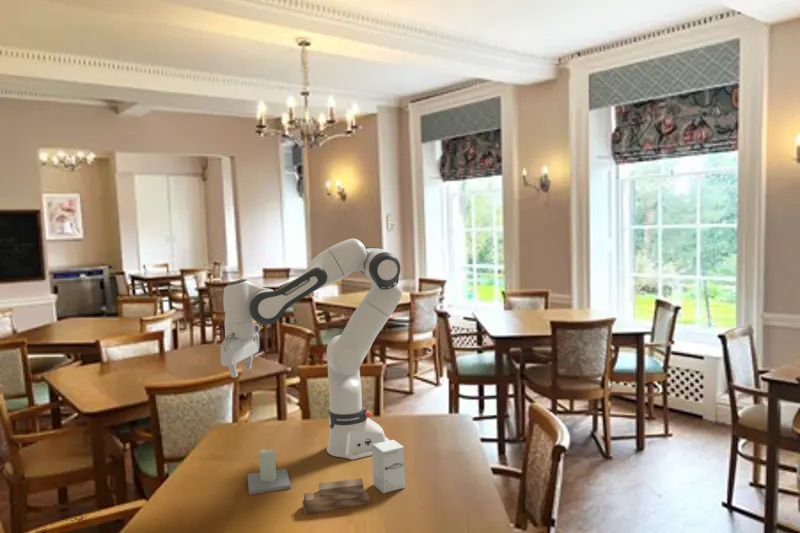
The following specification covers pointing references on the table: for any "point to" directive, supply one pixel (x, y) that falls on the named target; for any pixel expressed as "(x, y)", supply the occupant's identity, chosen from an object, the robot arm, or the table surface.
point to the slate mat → (264, 486)
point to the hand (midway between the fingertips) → (241, 373)
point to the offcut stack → (335, 496)
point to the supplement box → (388, 466)
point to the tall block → (267, 465)
